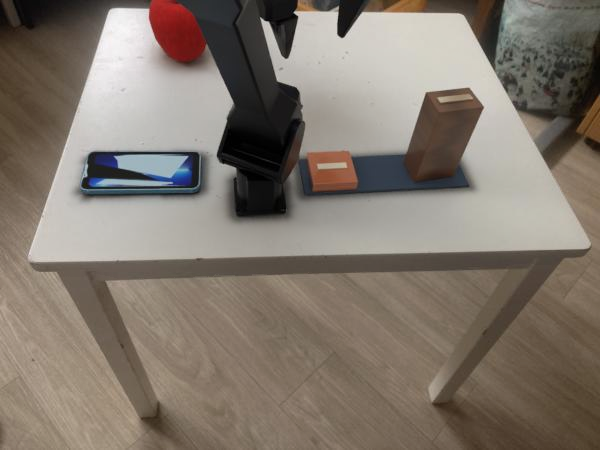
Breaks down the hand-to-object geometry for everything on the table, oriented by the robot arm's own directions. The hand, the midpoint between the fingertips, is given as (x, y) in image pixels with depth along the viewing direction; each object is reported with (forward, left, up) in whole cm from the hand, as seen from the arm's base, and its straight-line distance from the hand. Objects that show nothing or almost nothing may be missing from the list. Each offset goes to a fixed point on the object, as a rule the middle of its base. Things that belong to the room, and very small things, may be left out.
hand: (313, 46), depth 63 cm
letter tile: (-11, -2, -13) cm, 17 cm away
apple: (+19, +18, -13) cm, 29 cm away
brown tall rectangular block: (-11, -16, -13) cm, 23 cm away
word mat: (-11, -9, -13) cm, 19 cm away
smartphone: (-9, +23, -13) cm, 28 cm away
